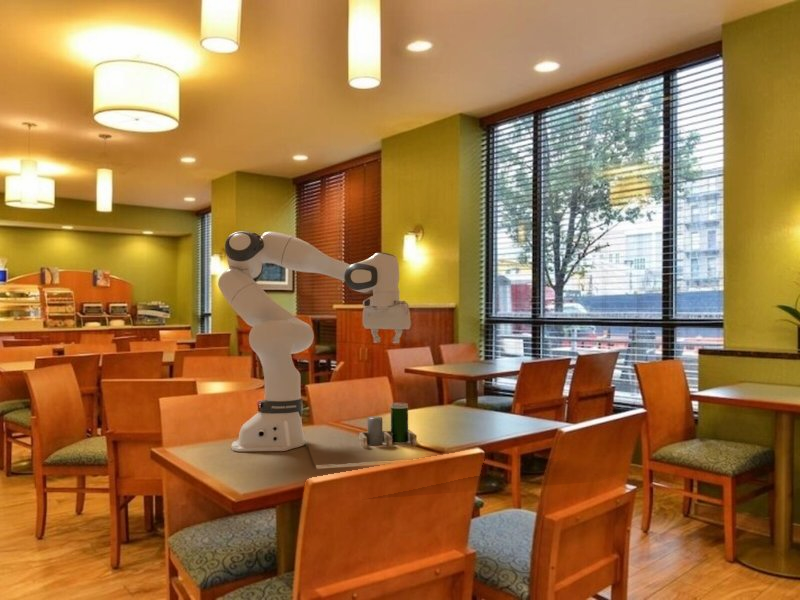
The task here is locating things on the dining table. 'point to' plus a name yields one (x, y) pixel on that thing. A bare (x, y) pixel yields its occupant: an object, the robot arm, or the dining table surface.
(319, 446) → the dining table surface
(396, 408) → the beer can
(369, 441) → the grey upright block
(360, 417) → the dining table surface
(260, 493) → the dining table surface
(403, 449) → the dining table surface
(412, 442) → the comb rack
